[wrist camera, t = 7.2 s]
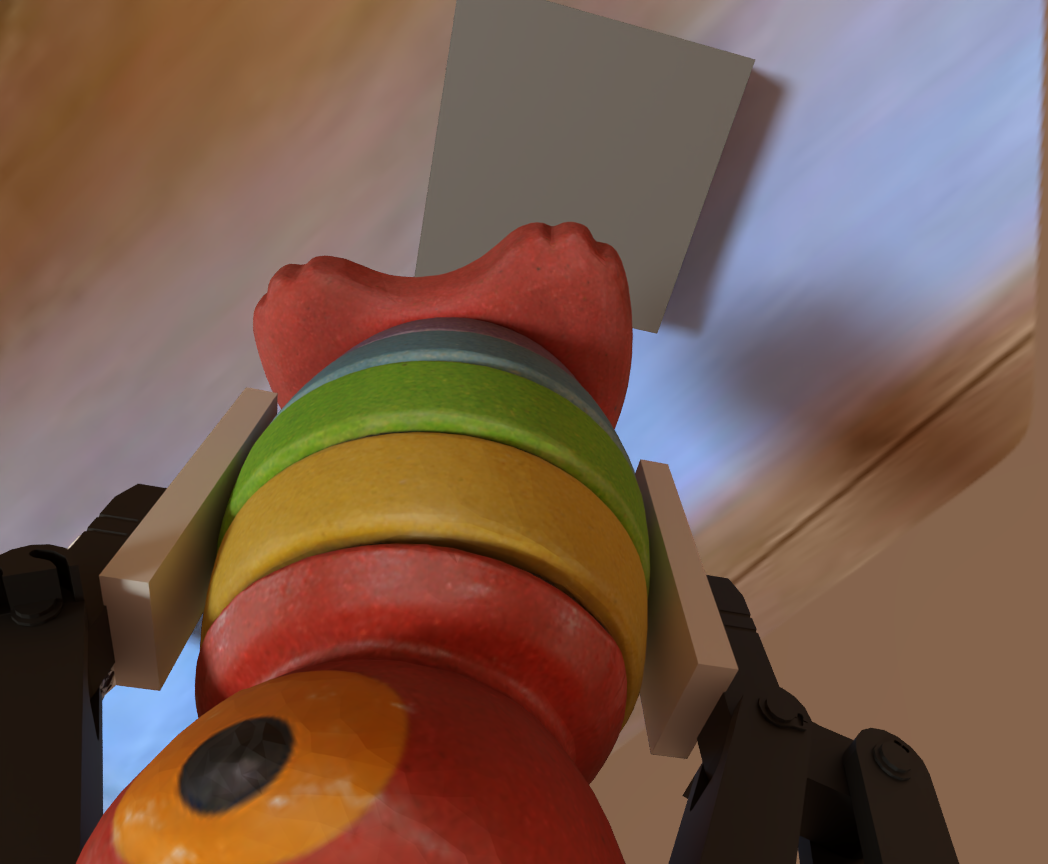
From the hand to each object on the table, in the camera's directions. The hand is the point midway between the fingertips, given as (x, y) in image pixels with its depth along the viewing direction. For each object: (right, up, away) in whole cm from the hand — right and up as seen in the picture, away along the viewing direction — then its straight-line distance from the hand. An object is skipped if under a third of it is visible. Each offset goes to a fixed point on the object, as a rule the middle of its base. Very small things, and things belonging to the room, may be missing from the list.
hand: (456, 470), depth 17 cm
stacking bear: (0, +2, +4) cm, 4 cm away
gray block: (+4, +16, +19) cm, 25 cm away
